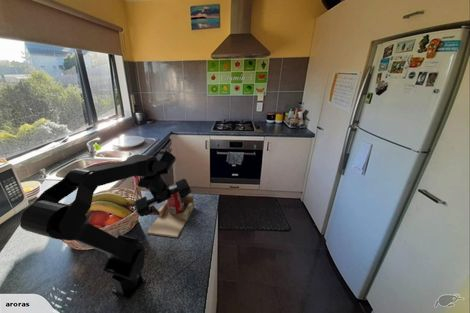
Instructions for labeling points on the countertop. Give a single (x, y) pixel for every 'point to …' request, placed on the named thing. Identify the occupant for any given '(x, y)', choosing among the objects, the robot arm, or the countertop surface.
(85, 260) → the countertop surface
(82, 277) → the countertop surface
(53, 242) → the countertop surface
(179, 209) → the soda can
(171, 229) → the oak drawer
